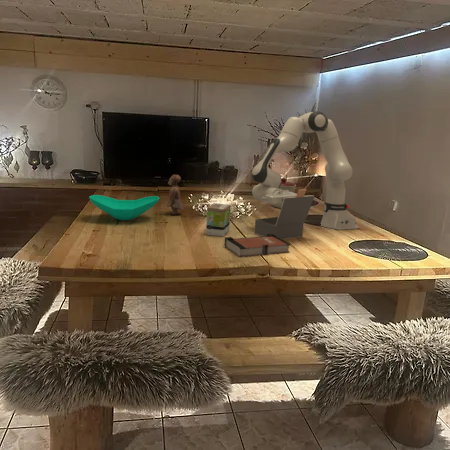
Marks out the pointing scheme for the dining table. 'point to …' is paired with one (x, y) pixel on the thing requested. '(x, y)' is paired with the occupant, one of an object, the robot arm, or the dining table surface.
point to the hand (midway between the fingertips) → (293, 200)
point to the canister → (285, 186)
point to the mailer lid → (295, 209)
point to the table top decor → (124, 206)
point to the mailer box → (277, 228)
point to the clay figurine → (174, 194)
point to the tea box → (218, 219)
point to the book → (257, 245)
